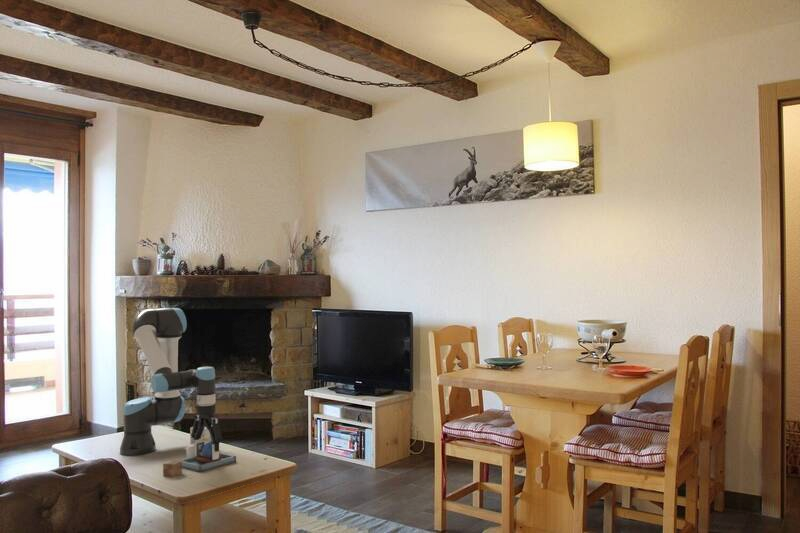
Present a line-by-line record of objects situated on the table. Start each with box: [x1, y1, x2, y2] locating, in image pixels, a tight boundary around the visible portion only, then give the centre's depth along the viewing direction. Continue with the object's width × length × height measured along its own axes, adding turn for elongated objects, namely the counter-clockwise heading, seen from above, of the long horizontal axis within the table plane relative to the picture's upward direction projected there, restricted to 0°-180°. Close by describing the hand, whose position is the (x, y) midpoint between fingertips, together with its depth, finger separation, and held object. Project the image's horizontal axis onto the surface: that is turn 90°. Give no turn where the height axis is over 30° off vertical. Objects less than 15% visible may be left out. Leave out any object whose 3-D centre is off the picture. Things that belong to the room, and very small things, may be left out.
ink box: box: [189, 426, 212, 445], centre depth 295 cm, size 9×8×12 cm
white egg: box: [186, 444, 195, 459], centre depth 282 cm, size 4×4×6 cm
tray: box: [178, 452, 237, 473], centre depth 274 cm, size 15×18×2 cm
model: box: [195, 439, 222, 462], centre depth 275 cm, size 12×9×9 cm
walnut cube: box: [162, 459, 183, 478], centre depth 260 cm, size 5×5×5 cm
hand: (207, 457), depth 274 cm, fingers closed on model, 11 cm apart
